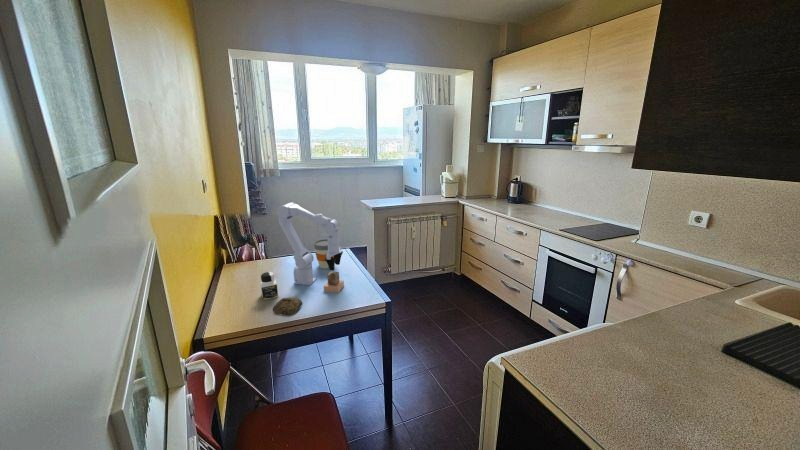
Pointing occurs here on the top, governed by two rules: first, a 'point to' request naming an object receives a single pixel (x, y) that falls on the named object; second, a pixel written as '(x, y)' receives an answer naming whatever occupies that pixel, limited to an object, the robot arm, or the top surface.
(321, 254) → the reusable coffee cup
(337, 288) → the terracotta tile
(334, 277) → the walnut block
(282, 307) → the bread roll
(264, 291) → the medicine bottle
